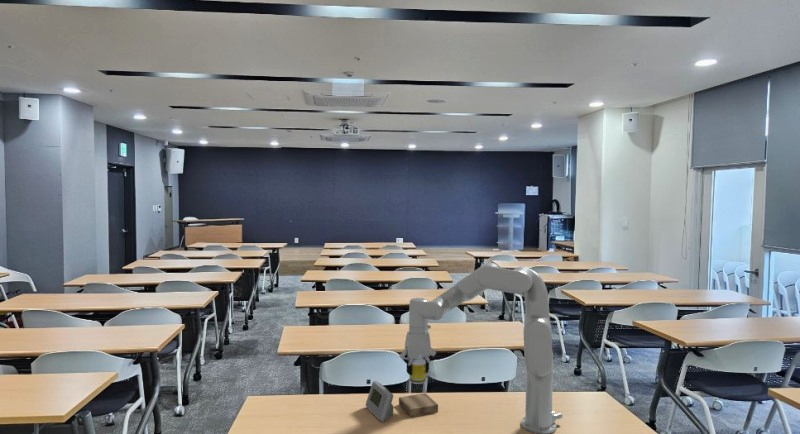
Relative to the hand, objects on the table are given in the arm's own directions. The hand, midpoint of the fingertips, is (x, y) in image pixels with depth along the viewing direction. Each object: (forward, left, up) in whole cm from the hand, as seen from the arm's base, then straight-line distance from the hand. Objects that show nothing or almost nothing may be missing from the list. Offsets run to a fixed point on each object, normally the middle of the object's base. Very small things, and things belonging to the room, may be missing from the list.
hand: (417, 372), depth 187 cm
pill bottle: (0, 0, -4) cm, 4 cm away
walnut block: (0, 0, -15) cm, 15 cm away
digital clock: (+16, -1, -15) cm, 22 cm away
